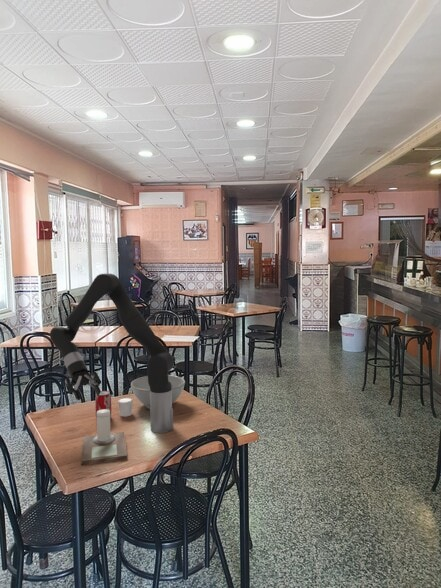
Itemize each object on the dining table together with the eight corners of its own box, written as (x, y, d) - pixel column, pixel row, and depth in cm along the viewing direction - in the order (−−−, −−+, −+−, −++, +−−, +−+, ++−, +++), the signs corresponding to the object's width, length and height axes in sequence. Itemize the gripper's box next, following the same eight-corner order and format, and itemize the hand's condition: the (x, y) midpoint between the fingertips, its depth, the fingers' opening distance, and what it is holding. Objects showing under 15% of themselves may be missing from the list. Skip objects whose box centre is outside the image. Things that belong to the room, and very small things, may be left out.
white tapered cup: (120, 418, 197) (119, 403, 196) (116, 413, 203) (116, 399, 202) (134, 415, 200) (134, 400, 199) (130, 410, 206) (130, 396, 205)
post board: (124, 435, 177) (123, 414, 177) (127, 459, 156) (126, 435, 156) (83, 440, 173) (83, 418, 172) (81, 465, 152) (80, 440, 151)
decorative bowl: (169, 393, 232) (169, 372, 231) (195, 407, 210) (194, 383, 209) (123, 403, 217) (122, 380, 216) (144, 419, 195) (144, 393, 194)
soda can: (102, 422, 192) (101, 396, 191) (92, 418, 196) (91, 393, 195) (114, 417, 198) (114, 392, 196) (105, 414, 202) (104, 389, 201)
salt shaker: (110, 435, 173) (109, 408, 172) (111, 440, 168) (110, 413, 167) (97, 436, 172) (96, 410, 171) (97, 441, 167) (96, 414, 166)
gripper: (62, 362, 176) (76, 396, 169) (93, 357, 186) (108, 388, 179) (56, 373, 180) (70, 405, 173) (87, 366, 190) (101, 397, 183)
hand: (89, 396), depth 176 cm, fingers open, 8 cm apart
